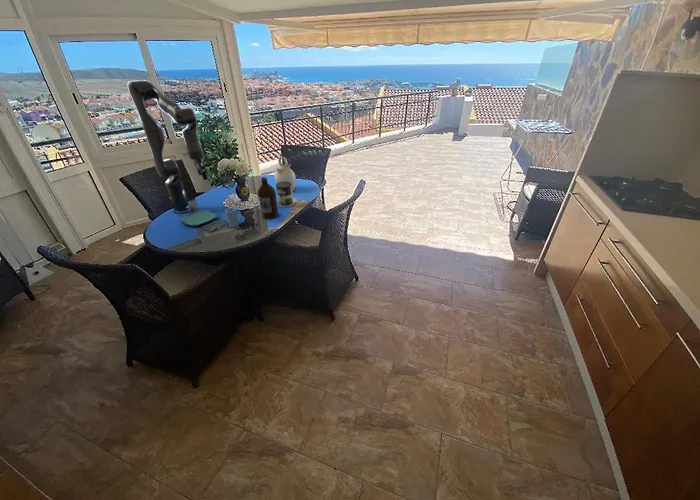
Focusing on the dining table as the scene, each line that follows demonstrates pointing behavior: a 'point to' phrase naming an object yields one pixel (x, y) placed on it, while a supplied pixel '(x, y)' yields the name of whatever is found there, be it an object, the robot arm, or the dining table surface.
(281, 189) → the coffee can
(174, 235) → the dining table surface
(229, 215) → the cup
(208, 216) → the cutlery set
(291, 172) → the jug
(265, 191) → the brown bottle
